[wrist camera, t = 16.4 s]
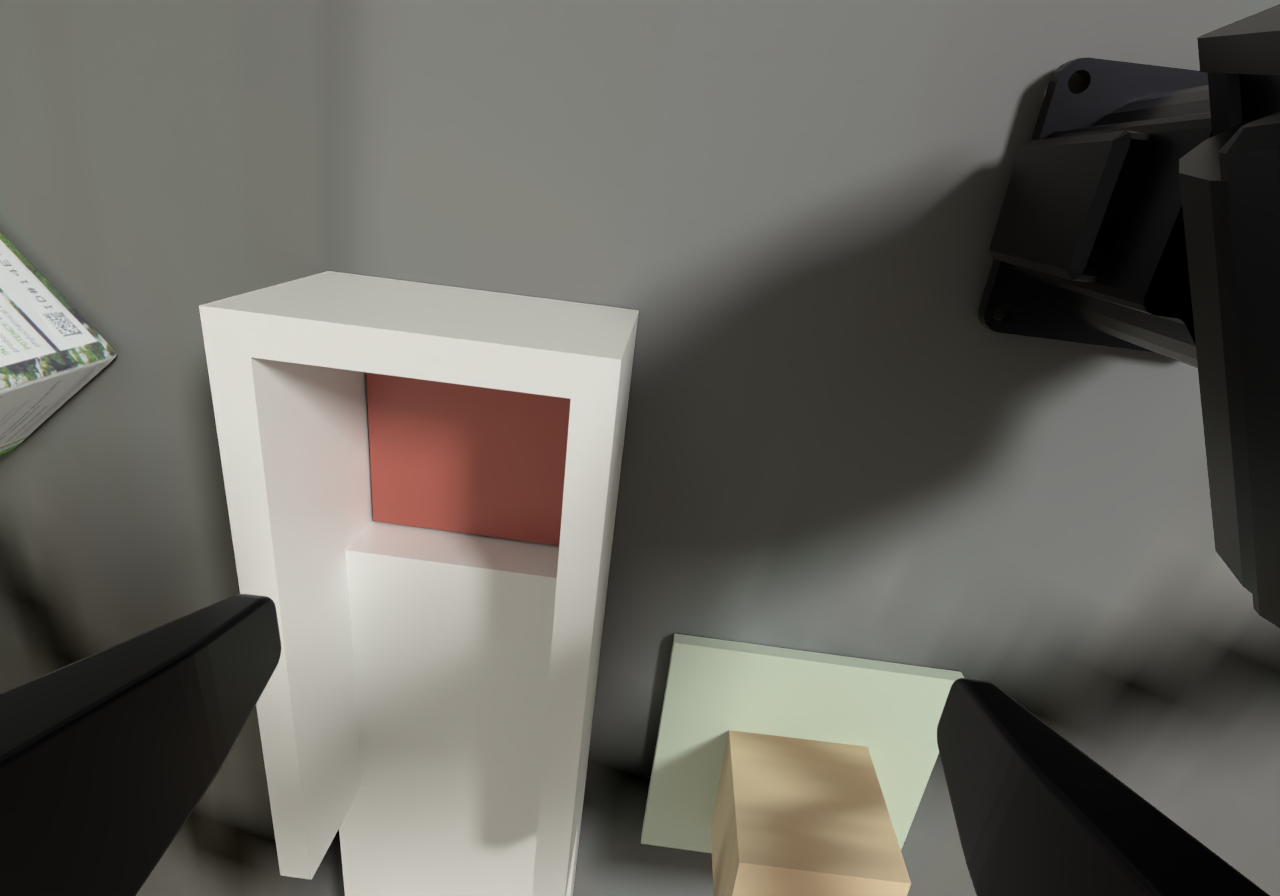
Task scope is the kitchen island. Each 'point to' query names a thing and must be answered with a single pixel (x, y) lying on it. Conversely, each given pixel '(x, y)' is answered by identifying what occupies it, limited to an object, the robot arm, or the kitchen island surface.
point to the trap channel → (424, 568)
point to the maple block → (802, 821)
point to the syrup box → (39, 348)
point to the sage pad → (786, 725)
